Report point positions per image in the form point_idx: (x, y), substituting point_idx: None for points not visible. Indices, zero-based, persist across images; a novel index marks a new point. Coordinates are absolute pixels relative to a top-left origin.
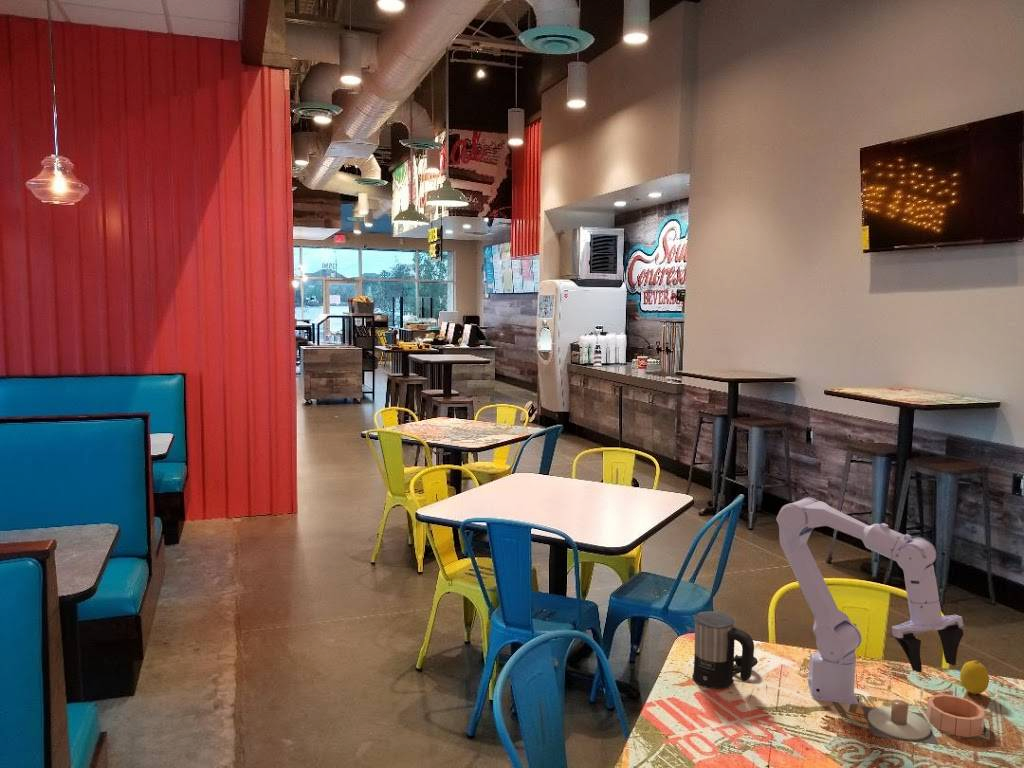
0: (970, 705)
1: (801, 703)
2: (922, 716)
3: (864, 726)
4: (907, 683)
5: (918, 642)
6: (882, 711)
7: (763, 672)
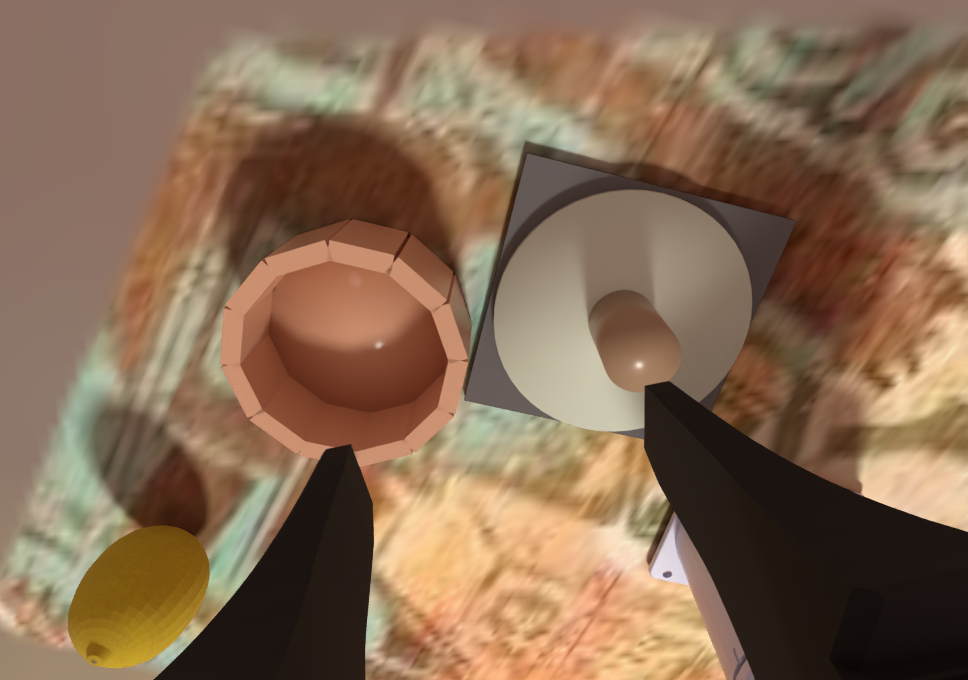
0: (260, 387)
1: (924, 472)
2: (477, 376)
3: (770, 309)
4: (404, 601)
5: (882, 566)
6: None
7: None
